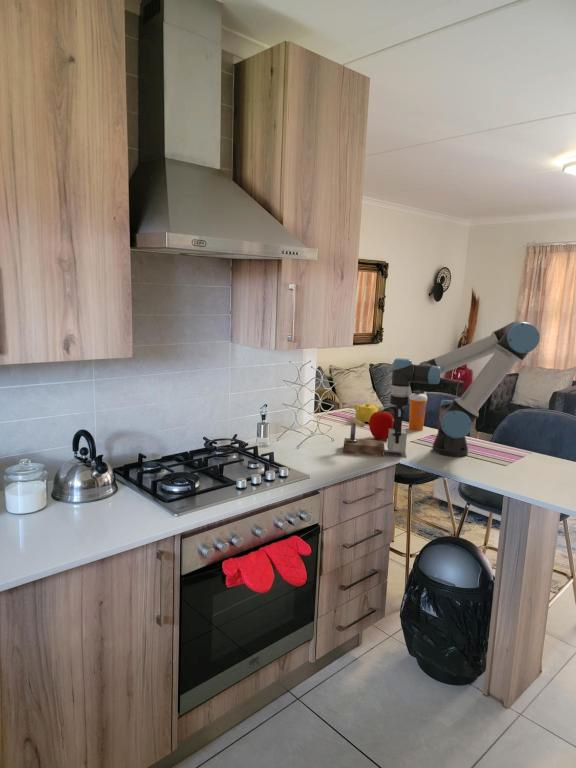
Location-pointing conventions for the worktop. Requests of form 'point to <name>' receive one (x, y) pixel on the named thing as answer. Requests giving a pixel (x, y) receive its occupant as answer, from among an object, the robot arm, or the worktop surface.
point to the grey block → (402, 440)
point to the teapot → (365, 412)
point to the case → (364, 447)
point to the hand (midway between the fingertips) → (395, 447)
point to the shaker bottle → (417, 410)
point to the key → (353, 427)
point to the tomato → (381, 424)
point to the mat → (395, 454)
